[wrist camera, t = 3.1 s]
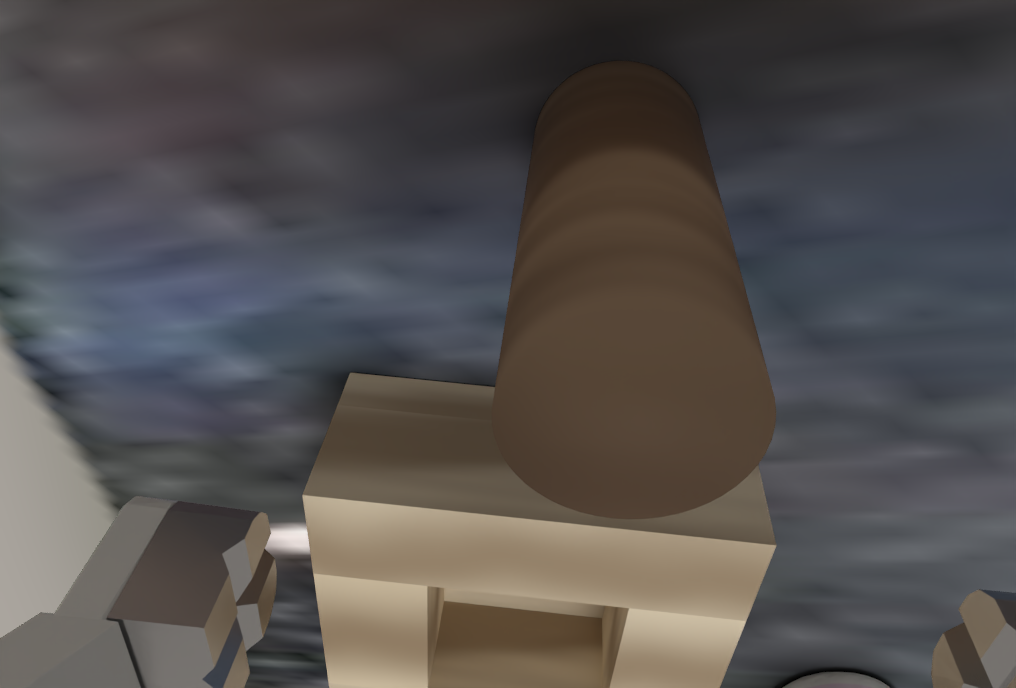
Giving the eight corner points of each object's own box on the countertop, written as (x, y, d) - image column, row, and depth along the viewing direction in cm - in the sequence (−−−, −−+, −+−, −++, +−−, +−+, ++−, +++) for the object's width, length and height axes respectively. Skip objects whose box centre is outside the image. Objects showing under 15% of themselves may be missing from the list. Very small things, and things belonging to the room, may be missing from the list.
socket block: (350, 372, 24) (302, 495, 21) (746, 412, 24) (776, 545, 20) (368, 608, 32) (335, 733, 28) (673, 642, 31) (685, 774, 27)
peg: (540, 53, 18) (498, 295, 10) (717, 68, 18) (811, 325, 10) (528, 210, 21) (485, 505, 13) (683, 225, 21) (738, 531, 13)
